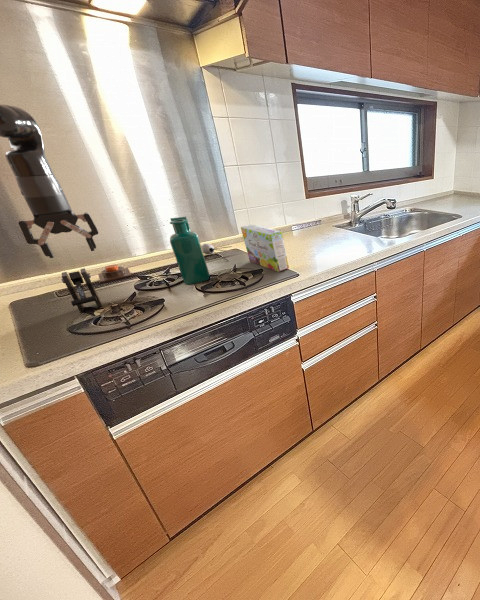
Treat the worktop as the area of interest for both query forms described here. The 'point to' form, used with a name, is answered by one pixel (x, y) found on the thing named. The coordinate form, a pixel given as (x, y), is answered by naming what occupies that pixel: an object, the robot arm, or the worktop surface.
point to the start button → (111, 268)
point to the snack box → (265, 247)
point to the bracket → (74, 293)
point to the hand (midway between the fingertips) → (73, 253)
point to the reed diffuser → (210, 249)
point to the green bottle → (188, 252)
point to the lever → (80, 289)
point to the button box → (114, 275)
